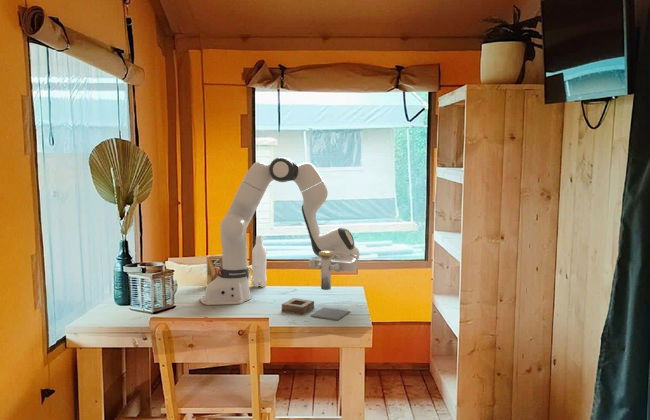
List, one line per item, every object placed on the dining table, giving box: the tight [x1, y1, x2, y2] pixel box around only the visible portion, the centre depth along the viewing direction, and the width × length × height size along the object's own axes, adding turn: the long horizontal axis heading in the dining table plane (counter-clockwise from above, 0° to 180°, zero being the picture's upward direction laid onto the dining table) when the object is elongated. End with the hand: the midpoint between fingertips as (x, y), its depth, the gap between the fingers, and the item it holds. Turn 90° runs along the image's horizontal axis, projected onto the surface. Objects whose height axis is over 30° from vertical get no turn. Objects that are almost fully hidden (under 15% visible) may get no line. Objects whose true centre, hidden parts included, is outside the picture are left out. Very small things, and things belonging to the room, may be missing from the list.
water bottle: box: [251, 235, 268, 288], centre depth 256 cm, size 7×7×25 cm
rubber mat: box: [310, 306, 351, 322], centre depth 213 cm, size 12×12×1 cm
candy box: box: [206, 254, 223, 286], centre depth 257 cm, size 9×4×15 cm, turn 111°
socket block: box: [281, 297, 315, 315], centre depth 220 cm, size 10×10×3 cm
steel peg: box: [319, 251, 333, 291], centre depth 213 cm, size 6×6×15 cm
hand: (324, 267), depth 212 cm, fingers closed on steel peg, 4 cm apart
